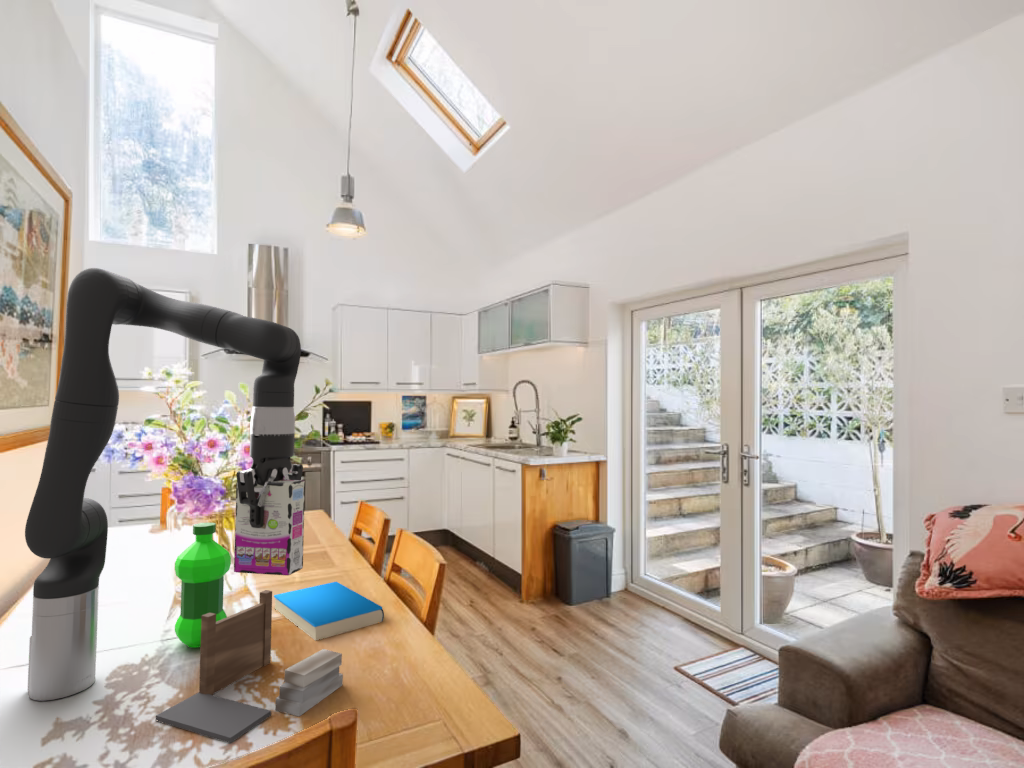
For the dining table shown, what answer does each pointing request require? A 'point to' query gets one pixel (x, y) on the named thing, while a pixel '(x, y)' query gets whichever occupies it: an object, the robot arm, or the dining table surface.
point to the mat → (214, 716)
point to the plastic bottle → (200, 583)
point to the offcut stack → (309, 682)
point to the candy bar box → (272, 531)
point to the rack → (235, 645)
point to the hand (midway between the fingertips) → (270, 523)
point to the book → (328, 610)
